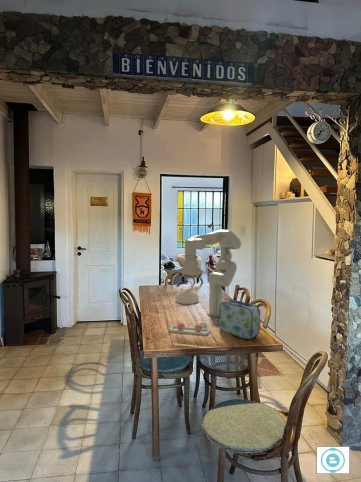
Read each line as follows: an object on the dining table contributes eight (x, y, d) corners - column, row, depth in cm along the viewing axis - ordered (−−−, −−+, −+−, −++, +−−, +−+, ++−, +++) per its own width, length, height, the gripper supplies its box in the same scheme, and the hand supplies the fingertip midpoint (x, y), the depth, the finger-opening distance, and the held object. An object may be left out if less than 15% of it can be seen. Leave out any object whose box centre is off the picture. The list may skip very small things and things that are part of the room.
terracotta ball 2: (195, 330, 210) (195, 322, 209) (203, 331, 209) (203, 323, 208) (193, 333, 205) (193, 325, 205) (201, 334, 204) (201, 326, 203)
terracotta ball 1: (178, 328, 212) (178, 321, 212) (185, 329, 211) (185, 321, 211) (176, 331, 208) (176, 323, 207) (184, 332, 206) (183, 324, 206)
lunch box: (262, 338, 201) (263, 304, 199) (251, 342, 193) (253, 307, 192) (227, 327, 219) (228, 296, 218) (217, 331, 212) (217, 298, 210)
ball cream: (200, 327, 218) (200, 319, 217) (207, 328, 216) (207, 320, 216) (198, 329, 213) (198, 322, 212) (206, 330, 212) (206, 322, 211)
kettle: (203, 302, 281) (203, 281, 280) (181, 305, 272) (181, 283, 271) (192, 297, 299) (192, 277, 298) (171, 299, 290) (171, 279, 289)
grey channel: (172, 329, 215) (172, 325, 215) (209, 332, 209) (209, 328, 209) (169, 333, 207) (169, 329, 207) (207, 337, 201) (207, 333, 201)
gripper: (204, 257, 225) (204, 282, 226) (179, 256, 229) (179, 281, 230) (202, 258, 218) (202, 284, 219) (176, 258, 222) (176, 283, 223)
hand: (190, 282), depth 225 cm, fingers open, 9 cm apart
